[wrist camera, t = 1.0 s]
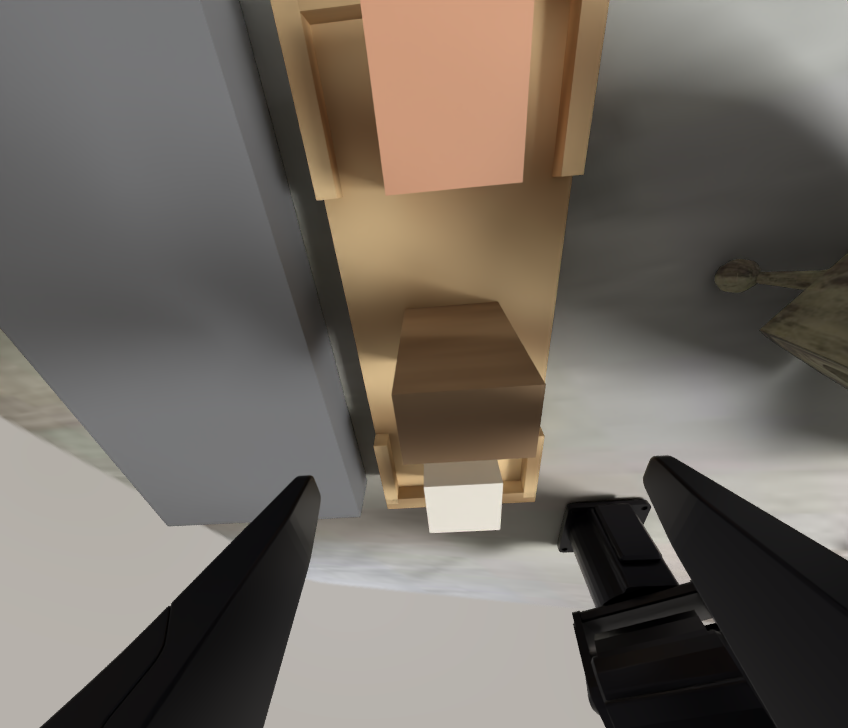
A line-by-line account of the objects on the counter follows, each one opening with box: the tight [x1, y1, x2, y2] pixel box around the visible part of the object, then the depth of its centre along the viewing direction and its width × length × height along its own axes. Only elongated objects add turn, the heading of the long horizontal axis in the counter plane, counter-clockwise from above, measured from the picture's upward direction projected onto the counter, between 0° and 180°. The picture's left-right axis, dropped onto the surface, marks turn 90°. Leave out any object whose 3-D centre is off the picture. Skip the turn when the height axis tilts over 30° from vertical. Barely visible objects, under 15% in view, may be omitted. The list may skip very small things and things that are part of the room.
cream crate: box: [424, 460, 503, 533], centre depth 19 cm, size 4×4×4 cm
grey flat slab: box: [0, 0, 367, 526], centre depth 17 cm, size 26×14×3 cm, turn 5°
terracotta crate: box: [360, 0, 534, 196], centre depth 10 cm, size 4×4×4 cm
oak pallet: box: [270, 0, 609, 509], centre depth 14 cm, size 25×10×9 cm, turn 5°
